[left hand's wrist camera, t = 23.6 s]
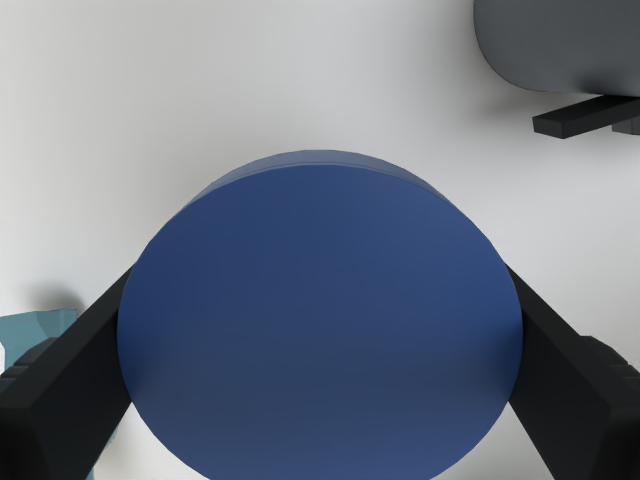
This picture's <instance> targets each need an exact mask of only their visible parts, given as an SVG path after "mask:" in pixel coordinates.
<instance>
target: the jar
mask: <svg viewBox="0 0 640 480" xmlns="http://www.w3.org/2000/svg"><path fill="white" fill-rule="evenodd" d="M474 23H475V31H476V35H477V39H478V42H479V45H480V48H481V50H482V52H483V54H484V56H485V58H486V60H487V61H488V63H489V64H490V65H491V67H492V68H493V69H494V70H495V71H496V72H497V73H498V74H499V75H500V76H501V77H503V78H504V79H505V80H507V81H508V82H510V83H512V84H514V85H516V86H518V87H521V88H524V89H527V90H534V91H544V92H563V93H581V94H600V95H618V96H637V97H640V0H475V2H474Z"/></svg>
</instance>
